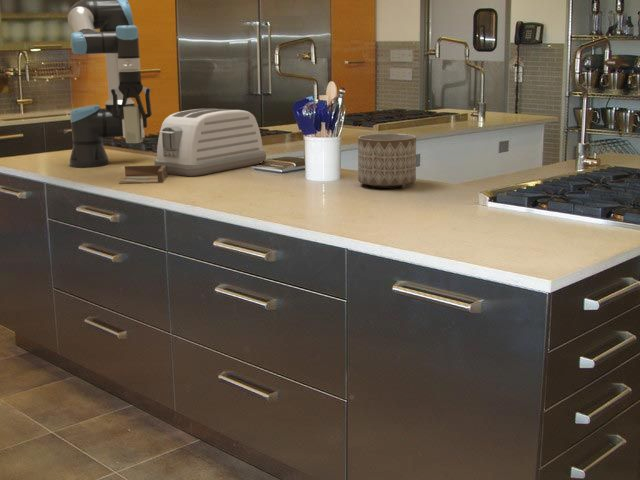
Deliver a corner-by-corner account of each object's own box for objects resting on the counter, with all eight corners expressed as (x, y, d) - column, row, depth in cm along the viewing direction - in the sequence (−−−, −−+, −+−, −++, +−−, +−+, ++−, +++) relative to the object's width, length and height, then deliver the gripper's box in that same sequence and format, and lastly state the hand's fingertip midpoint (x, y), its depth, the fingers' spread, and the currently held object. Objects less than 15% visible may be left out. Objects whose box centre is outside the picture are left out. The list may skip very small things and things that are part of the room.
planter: (348, 183, 304) (348, 135, 300) (398, 178, 312) (398, 131, 308) (374, 192, 287) (374, 141, 283) (426, 187, 294) (426, 137, 291)
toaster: (146, 173, 334) (142, 114, 329) (228, 158, 368) (226, 104, 363) (188, 179, 320) (185, 116, 315) (270, 163, 354) (268, 106, 349)
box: (143, 142, 317) (141, 105, 314) (138, 143, 312) (137, 106, 309) (129, 141, 318) (127, 105, 315) (124, 143, 313) (122, 106, 310)
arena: (126, 176, 326) (125, 166, 326) (167, 175, 327) (166, 164, 326) (119, 183, 312) (118, 172, 311) (162, 182, 312) (161, 171, 312)
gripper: (100, 71, 305) (105, 139, 310) (155, 70, 306) (159, 137, 311) (104, 70, 312) (109, 136, 318) (157, 69, 313) (161, 135, 319)
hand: (134, 137), depth 315 cm, fingers closed on box, 6 cm apart
